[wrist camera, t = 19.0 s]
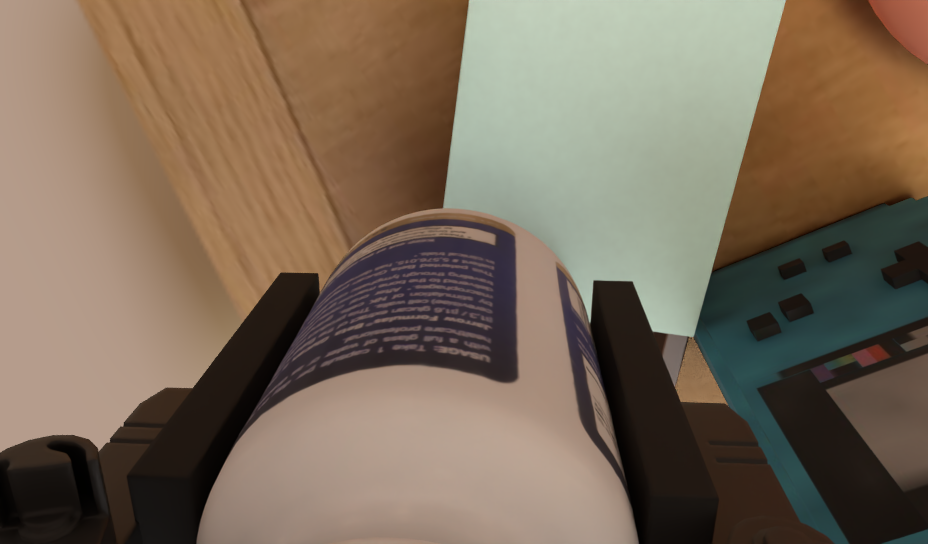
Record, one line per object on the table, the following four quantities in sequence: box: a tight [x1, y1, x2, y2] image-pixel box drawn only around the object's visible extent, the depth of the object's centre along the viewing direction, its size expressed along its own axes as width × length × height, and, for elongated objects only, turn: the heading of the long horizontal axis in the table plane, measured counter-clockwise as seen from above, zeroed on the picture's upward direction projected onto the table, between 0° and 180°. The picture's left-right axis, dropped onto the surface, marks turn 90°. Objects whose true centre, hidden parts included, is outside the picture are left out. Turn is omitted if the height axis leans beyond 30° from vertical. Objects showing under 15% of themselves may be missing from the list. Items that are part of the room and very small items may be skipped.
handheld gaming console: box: [694, 196, 928, 544], centre depth 21 cm, size 10×4×15 cm, turn 116°
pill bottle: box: [196, 208, 639, 544], centre depth 11 cm, size 5×5×10 cm
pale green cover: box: [443, 0, 786, 337], centre depth 23 cm, size 9×11×2 cm
